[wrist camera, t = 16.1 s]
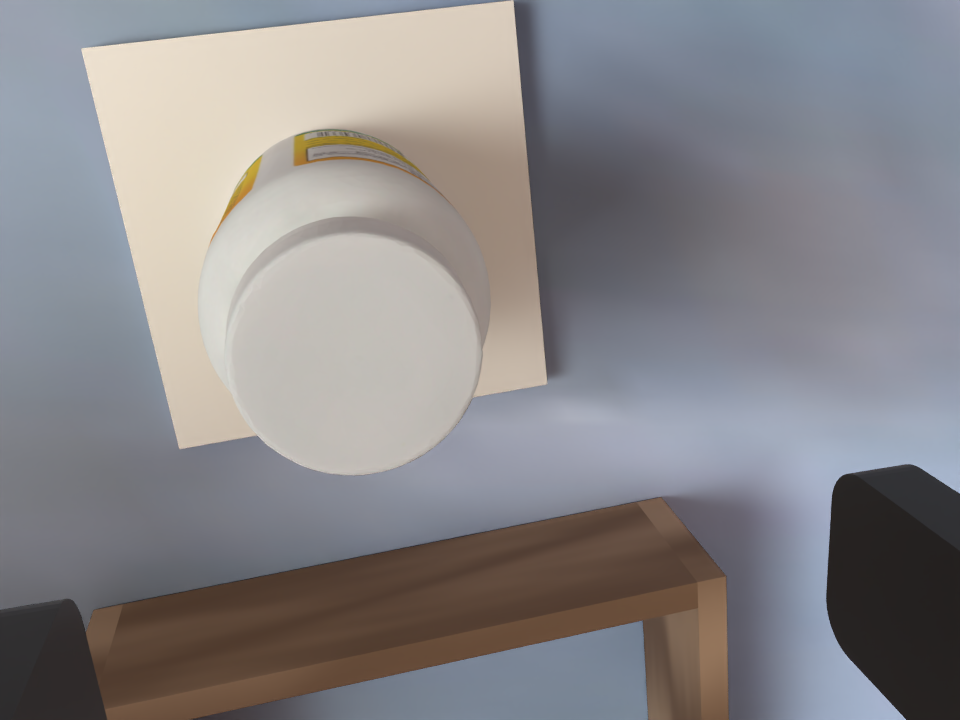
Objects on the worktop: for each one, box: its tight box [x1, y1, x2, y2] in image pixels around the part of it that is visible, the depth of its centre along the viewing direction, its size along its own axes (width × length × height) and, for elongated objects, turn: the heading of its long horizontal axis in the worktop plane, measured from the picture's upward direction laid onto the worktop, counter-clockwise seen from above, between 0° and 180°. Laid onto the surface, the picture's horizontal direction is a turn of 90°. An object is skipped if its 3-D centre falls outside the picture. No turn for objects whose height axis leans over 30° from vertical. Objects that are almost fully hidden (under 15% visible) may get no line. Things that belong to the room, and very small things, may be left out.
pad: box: [81, 0, 547, 449], centre depth 23 cm, size 10×10×1 cm
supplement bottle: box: [198, 128, 491, 475], centre depth 19 cm, size 5×5×10 cm
